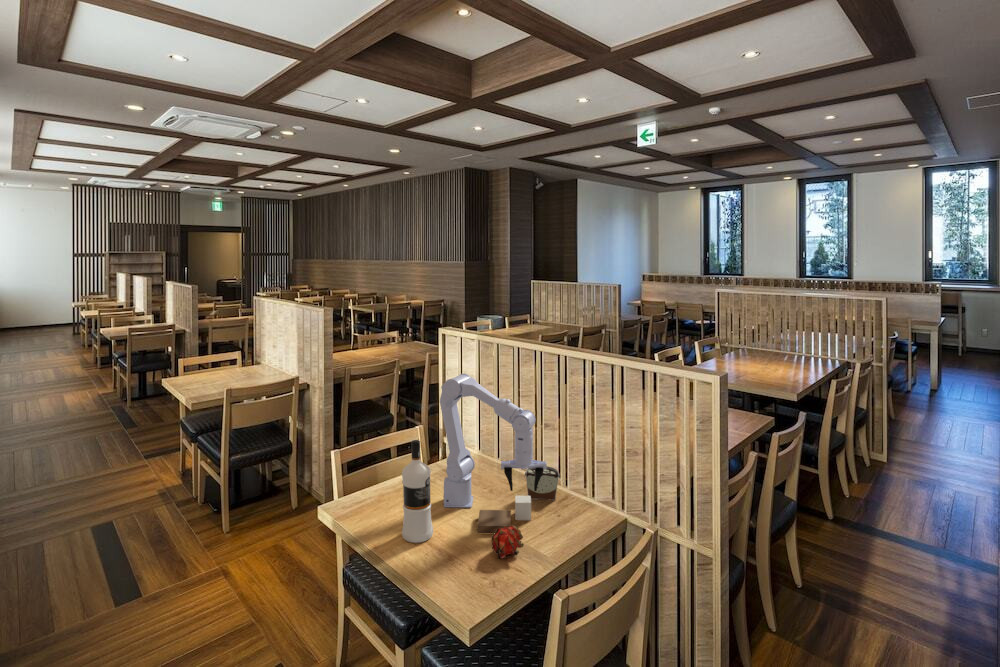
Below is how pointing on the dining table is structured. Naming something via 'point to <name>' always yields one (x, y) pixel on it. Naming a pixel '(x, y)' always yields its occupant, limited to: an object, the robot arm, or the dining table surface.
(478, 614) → the dining table surface
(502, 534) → the dragon fruit
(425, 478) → the vodka
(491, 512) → the block
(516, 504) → the ceramic block
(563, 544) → the dining table surface
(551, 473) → the food container
